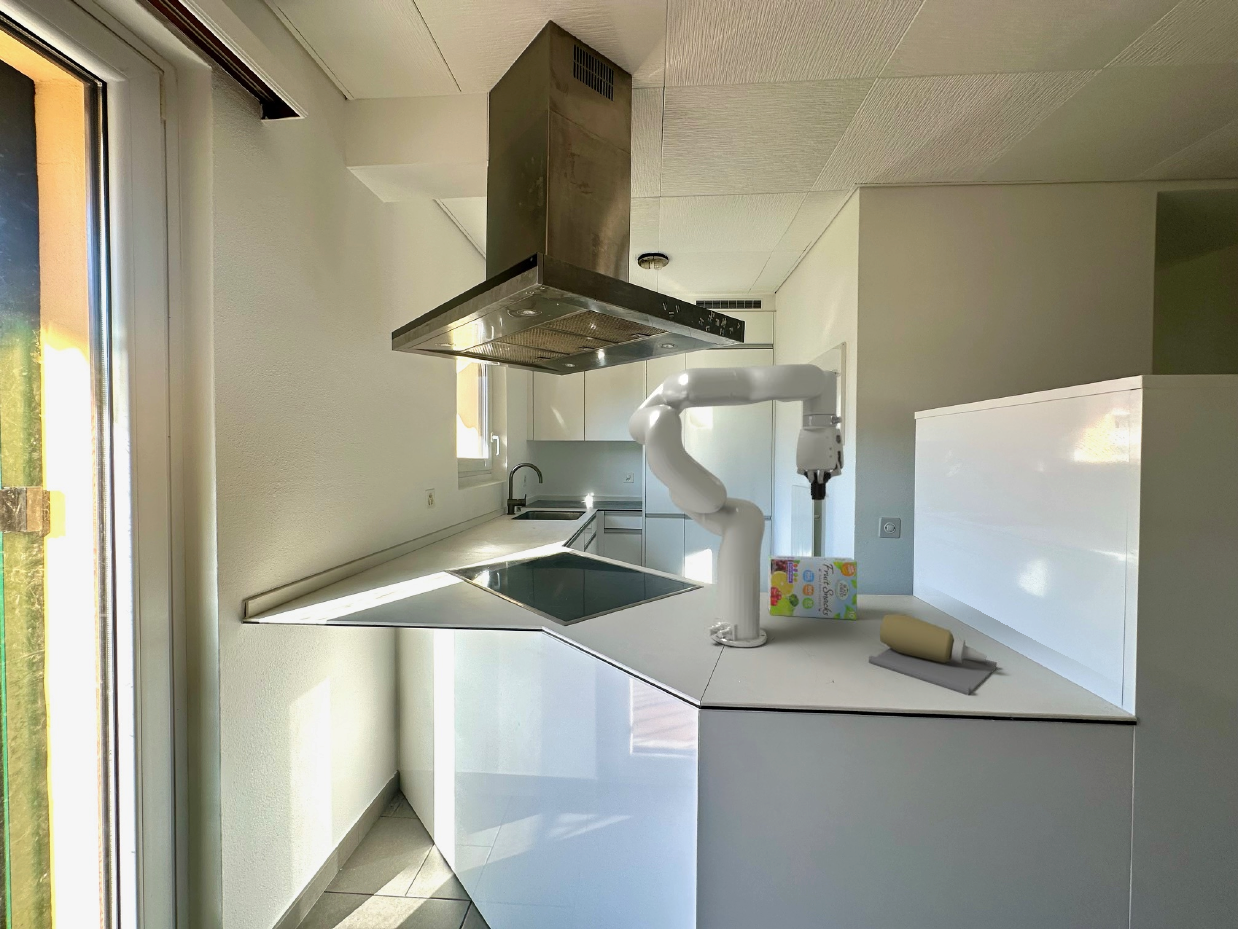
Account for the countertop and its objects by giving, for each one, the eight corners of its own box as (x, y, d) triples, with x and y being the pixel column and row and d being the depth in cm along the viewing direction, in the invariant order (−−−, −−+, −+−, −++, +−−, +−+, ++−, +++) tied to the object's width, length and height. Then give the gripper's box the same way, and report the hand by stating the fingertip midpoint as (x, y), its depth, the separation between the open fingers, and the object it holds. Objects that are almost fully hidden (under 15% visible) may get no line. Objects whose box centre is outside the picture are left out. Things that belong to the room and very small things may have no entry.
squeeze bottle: (887, 601, 106) (990, 628, 94) (888, 625, 110) (988, 655, 98) (876, 629, 101) (984, 662, 90) (878, 654, 105) (981, 688, 94)
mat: (968, 695, 86) (968, 688, 86) (868, 662, 99) (868, 656, 99) (996, 668, 97) (996, 662, 97) (903, 642, 110) (903, 637, 110)
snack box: (850, 613, 129) (851, 557, 129) (857, 621, 124) (858, 561, 124) (767, 609, 133) (767, 553, 133) (769, 615, 128) (770, 558, 127)
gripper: (857, 422, 114) (856, 501, 115) (799, 425, 126) (798, 496, 126) (842, 421, 109) (841, 503, 110) (782, 424, 121) (781, 498, 121)
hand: (818, 499), depth 118 cm, fingers closed
